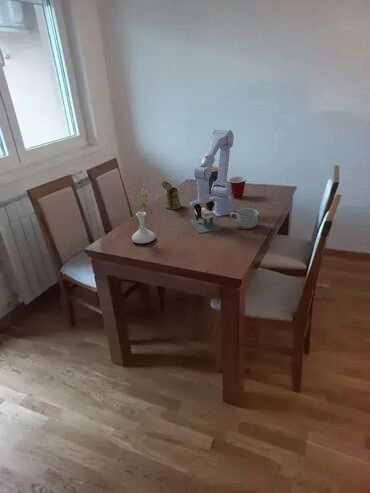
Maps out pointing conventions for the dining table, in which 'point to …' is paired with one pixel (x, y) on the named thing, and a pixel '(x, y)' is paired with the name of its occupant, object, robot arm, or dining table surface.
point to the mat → (204, 229)
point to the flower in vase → (143, 233)
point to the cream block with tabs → (205, 216)
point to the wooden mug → (171, 196)
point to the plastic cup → (237, 186)
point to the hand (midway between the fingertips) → (204, 216)
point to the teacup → (246, 218)
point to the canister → (213, 177)
